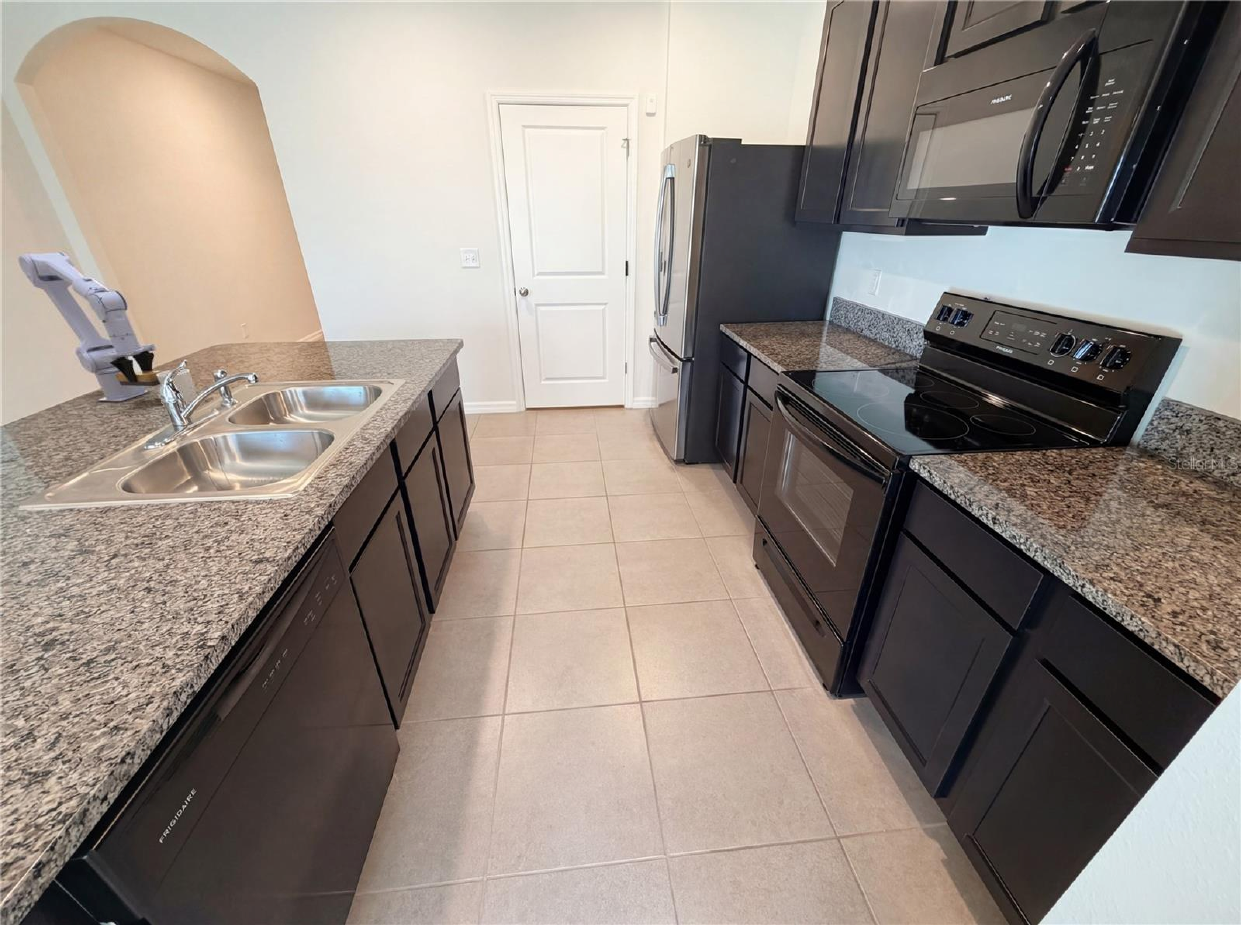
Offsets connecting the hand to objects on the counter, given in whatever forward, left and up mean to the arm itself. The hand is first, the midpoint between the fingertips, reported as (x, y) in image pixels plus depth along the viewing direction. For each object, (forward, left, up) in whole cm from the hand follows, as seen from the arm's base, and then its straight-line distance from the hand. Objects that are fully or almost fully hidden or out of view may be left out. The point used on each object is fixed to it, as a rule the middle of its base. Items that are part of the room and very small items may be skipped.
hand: (141, 379), depth 154 cm
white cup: (-1, +11, -8) cm, 13 cm away
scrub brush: (0, 0, -1) cm, 1 cm away
